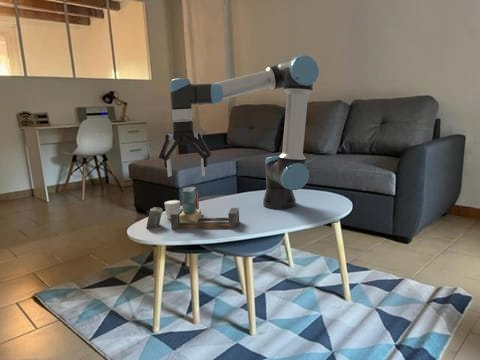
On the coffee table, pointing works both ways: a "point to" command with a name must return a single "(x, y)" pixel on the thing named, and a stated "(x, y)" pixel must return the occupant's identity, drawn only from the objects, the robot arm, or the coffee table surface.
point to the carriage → (189, 208)
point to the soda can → (195, 196)
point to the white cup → (171, 207)
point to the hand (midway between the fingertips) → (186, 175)
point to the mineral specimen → (154, 217)
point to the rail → (207, 221)
